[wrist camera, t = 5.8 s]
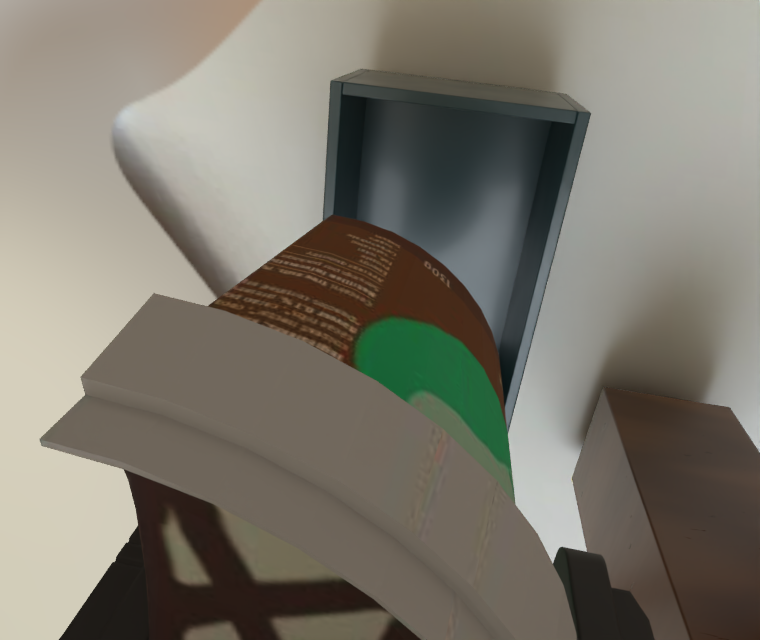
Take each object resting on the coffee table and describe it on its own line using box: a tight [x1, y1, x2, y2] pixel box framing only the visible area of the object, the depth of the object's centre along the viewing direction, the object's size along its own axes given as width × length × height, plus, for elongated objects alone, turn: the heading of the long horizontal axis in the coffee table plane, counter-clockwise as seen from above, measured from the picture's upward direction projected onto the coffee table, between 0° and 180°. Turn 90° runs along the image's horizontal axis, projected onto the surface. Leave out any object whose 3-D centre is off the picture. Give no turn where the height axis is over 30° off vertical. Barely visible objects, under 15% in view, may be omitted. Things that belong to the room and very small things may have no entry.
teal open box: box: [323, 69, 591, 433], centre depth 24 cm, size 8×14×5 cm, turn 174°
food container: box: [40, 215, 577, 640], centre depth 12 cm, size 12×6×10 cm, turn 175°
